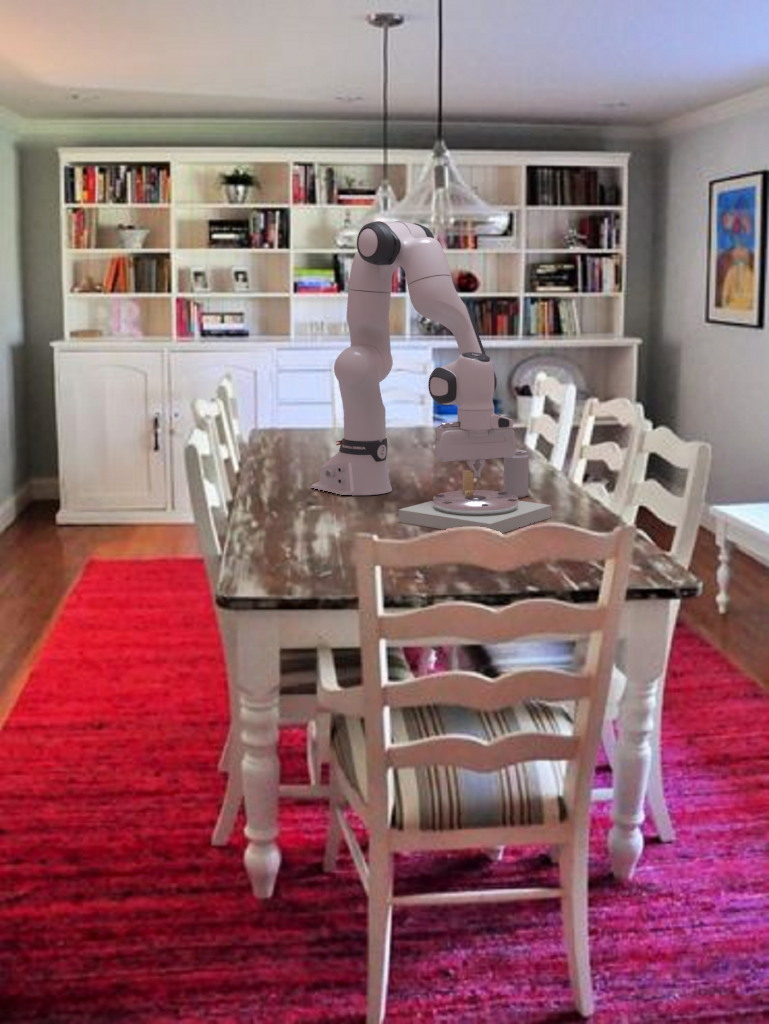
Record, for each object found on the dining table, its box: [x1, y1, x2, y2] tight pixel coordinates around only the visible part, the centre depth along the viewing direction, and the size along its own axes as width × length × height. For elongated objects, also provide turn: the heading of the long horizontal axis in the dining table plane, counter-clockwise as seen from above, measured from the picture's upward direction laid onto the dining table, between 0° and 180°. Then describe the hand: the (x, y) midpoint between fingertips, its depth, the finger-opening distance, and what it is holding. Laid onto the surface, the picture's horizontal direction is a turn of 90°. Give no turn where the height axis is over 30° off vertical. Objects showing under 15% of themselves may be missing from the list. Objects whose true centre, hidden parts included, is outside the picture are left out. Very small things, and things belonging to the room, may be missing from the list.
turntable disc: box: [432, 469, 519, 515], centre depth 286 cm, size 20×20×7 cm
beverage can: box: [503, 449, 530, 499], centre depth 314 cm, size 6×6×12 cm
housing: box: [398, 499, 552, 534], centre depth 287 cm, size 26×26×3 cm
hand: (475, 477), depth 294 cm, fingers closed
